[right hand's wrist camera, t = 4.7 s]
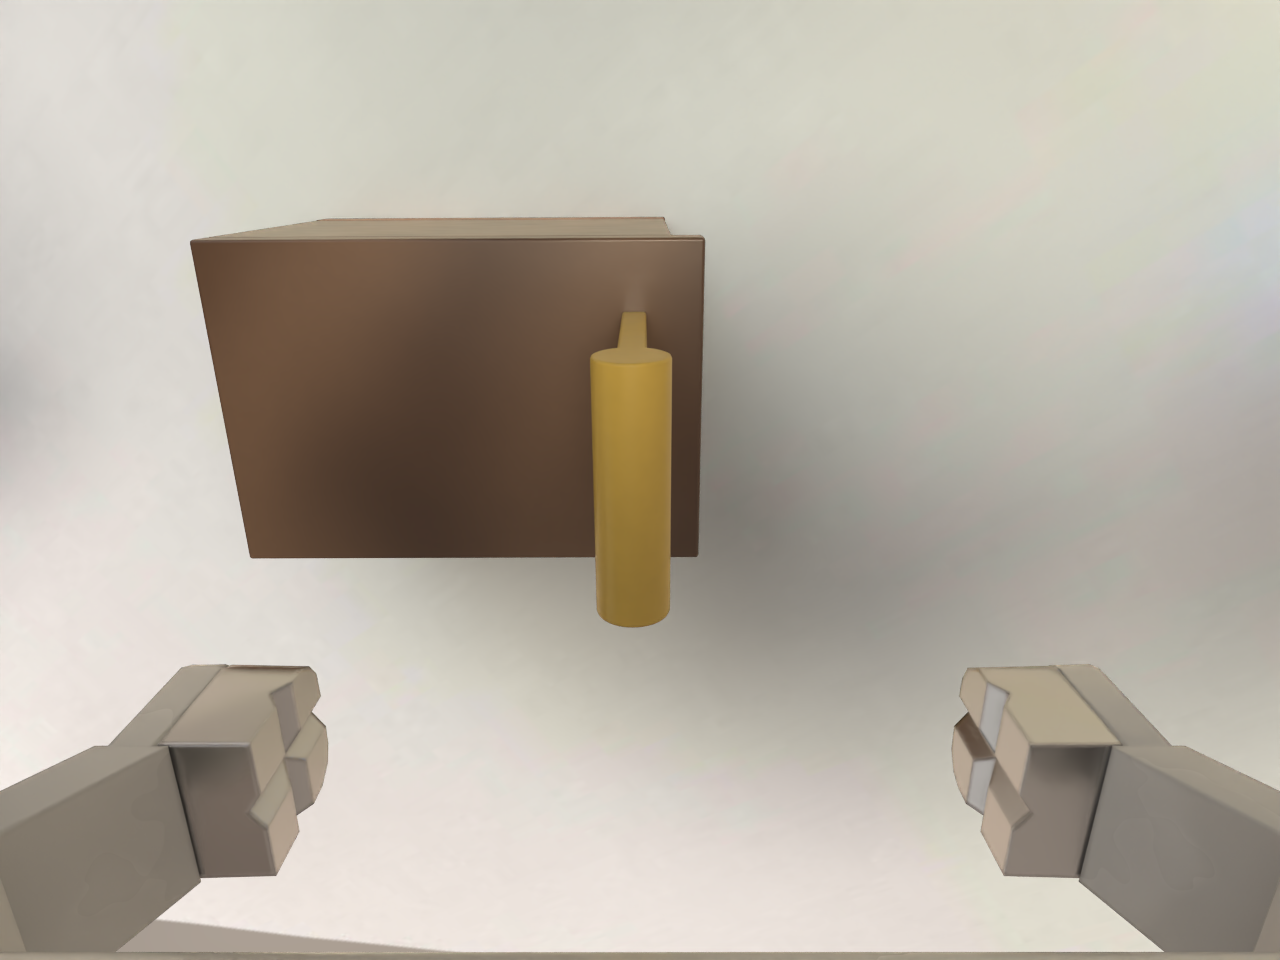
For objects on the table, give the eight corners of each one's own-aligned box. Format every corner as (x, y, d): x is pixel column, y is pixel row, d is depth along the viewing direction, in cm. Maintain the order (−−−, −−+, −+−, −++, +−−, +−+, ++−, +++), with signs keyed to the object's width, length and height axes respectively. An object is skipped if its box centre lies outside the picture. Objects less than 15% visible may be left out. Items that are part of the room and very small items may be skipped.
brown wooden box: (664, 217, 33) (671, 234, 24) (662, 450, 37) (669, 544, 28) (327, 218, 33) (205, 237, 24) (358, 452, 37) (262, 546, 28)
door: (702, 234, 24) (732, 266, 16) (696, 545, 28) (718, 698, 20) (205, 237, 24) (-14, 270, 16) (262, 546, 28) (106, 700, 20)
